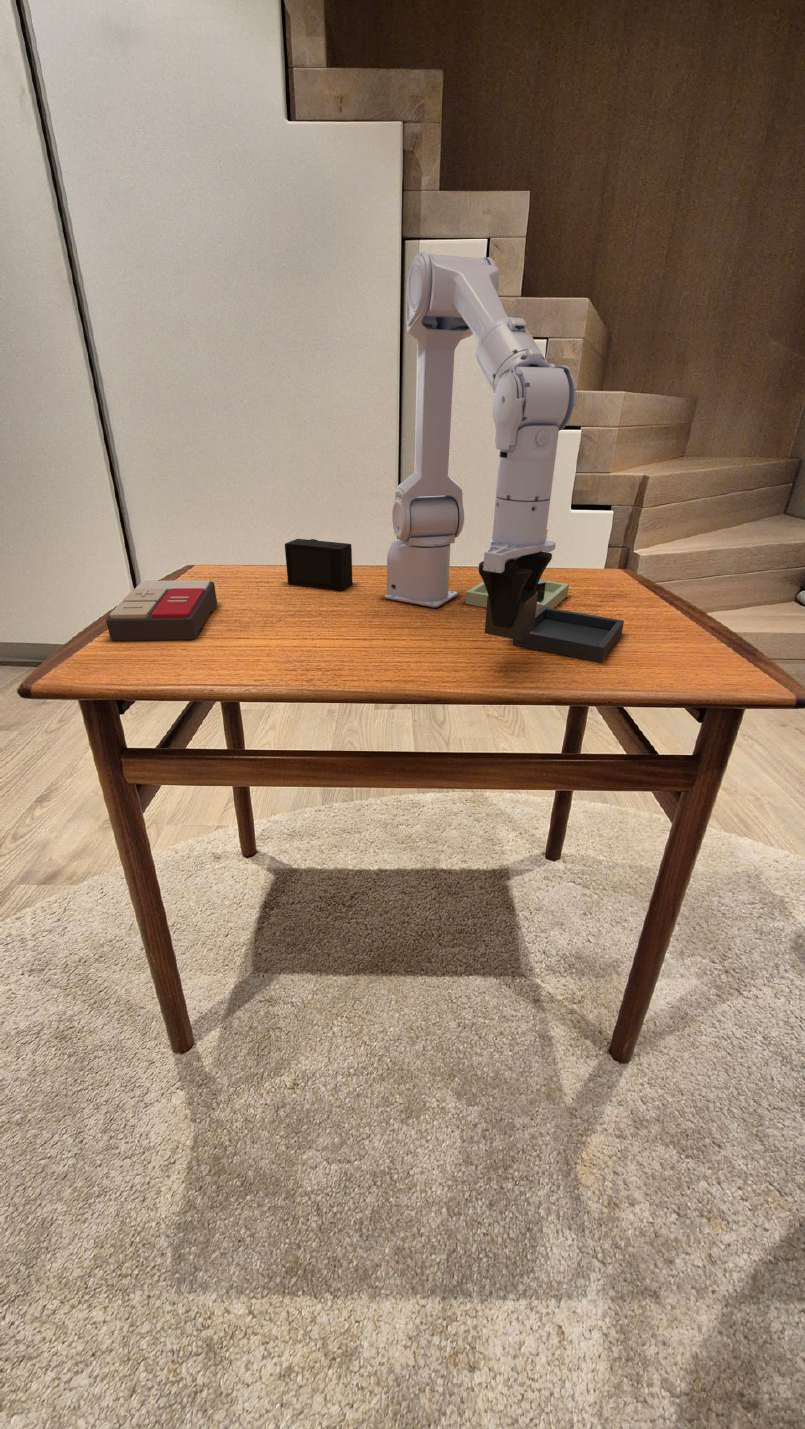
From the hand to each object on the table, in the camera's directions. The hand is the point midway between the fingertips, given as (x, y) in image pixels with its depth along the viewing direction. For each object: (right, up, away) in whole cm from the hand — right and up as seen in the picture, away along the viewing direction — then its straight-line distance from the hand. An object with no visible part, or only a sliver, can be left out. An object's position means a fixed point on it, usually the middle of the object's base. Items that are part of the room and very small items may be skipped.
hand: (510, 619), depth 70 cm
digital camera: (-26, +11, +33) cm, 44 cm away
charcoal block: (0, -1, +1) cm, 1 cm away
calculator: (-46, +2, +16) cm, 49 cm away
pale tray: (+6, +7, +26) cm, 28 cm away
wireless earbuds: (+6, +7, +26) cm, 27 cm away
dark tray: (+10, -1, +11) cm, 15 cm away
